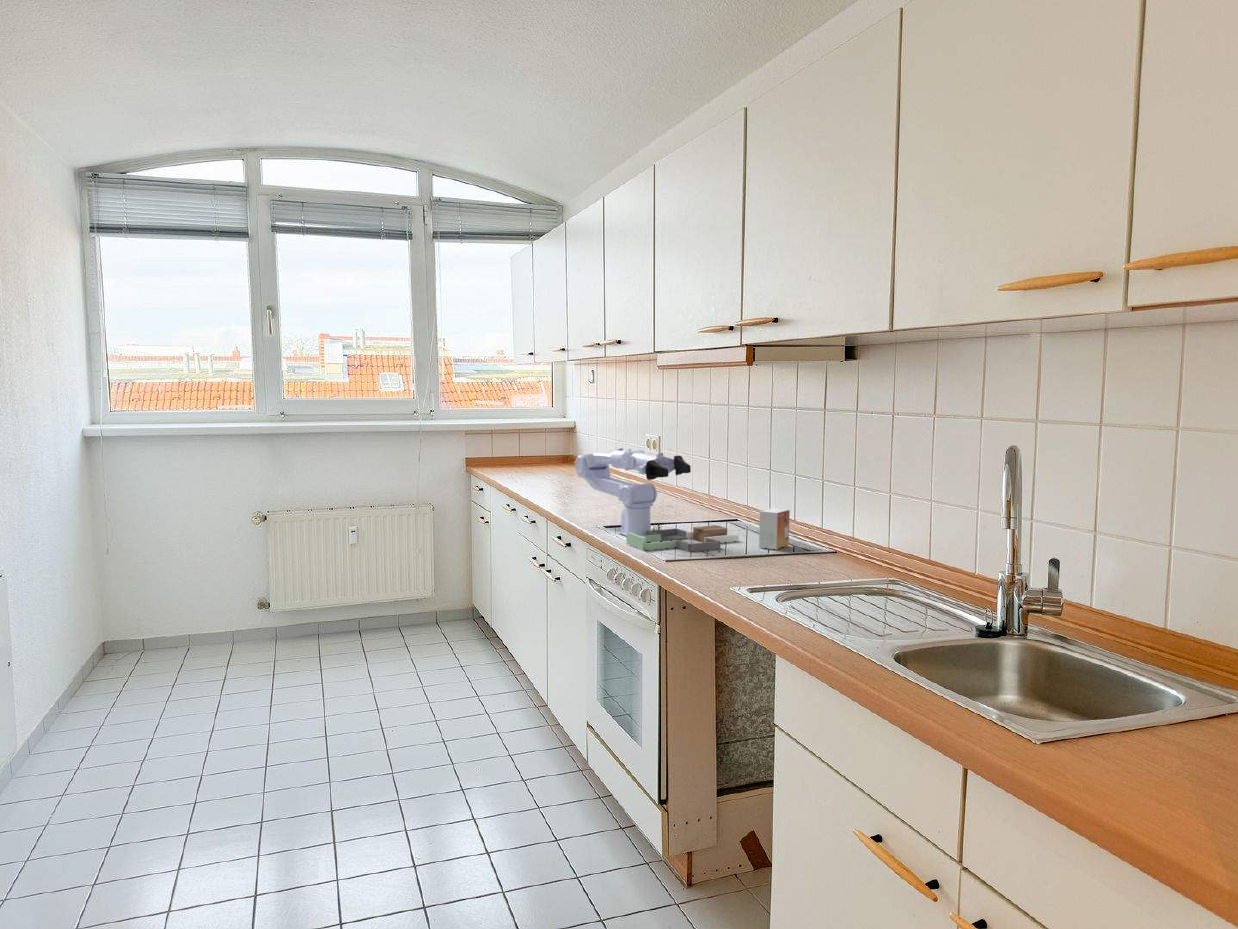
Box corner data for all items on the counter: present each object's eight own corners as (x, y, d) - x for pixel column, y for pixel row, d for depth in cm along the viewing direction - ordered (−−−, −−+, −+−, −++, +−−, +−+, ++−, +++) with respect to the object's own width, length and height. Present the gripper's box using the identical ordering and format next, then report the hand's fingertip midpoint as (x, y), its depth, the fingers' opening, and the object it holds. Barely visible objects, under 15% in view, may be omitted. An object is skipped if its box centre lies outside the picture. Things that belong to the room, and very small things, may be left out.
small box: (776, 550, 233) (777, 512, 232) (758, 548, 236) (759, 511, 235) (789, 546, 239) (790, 509, 238) (771, 543, 242) (772, 507, 241)
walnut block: (693, 540, 248) (693, 527, 248) (715, 538, 252) (715, 525, 251) (704, 544, 243) (704, 530, 242) (727, 541, 246) (727, 528, 246)
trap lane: (616, 540, 246) (616, 528, 245) (706, 532, 260) (706, 520, 260) (655, 555, 225) (656, 542, 225) (751, 545, 240) (752, 533, 240)
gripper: (629, 454, 242) (656, 460, 230) (670, 447, 249) (698, 453, 238) (630, 478, 243) (657, 485, 232) (671, 471, 250) (699, 478, 239)
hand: (678, 471), depth 235 cm, fingers open, 7 cm apart
